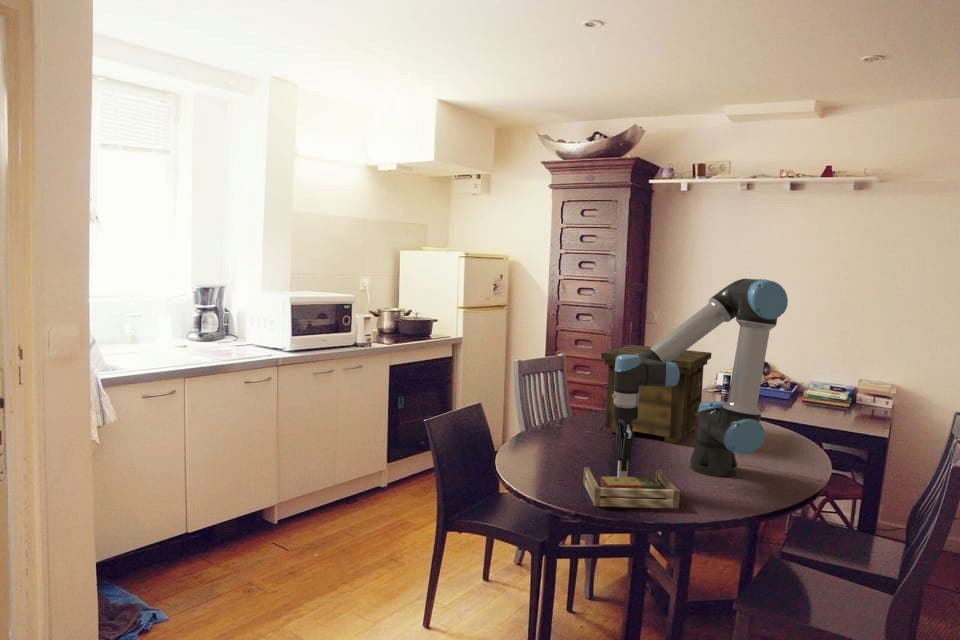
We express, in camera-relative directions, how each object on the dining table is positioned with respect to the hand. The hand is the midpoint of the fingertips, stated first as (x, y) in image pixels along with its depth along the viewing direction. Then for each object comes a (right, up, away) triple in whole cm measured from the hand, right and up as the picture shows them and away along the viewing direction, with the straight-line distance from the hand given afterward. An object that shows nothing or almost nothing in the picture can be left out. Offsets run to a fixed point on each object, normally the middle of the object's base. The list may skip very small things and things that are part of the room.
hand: (622, 479), depth 197 cm
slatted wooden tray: (0, -2, -10) cm, 10 cm away
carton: (+1, -3, -8) cm, 8 cm away
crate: (+27, +4, +65) cm, 71 cm away
